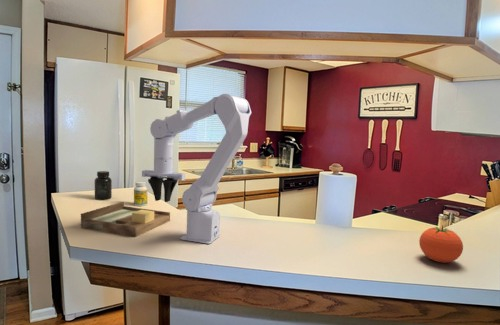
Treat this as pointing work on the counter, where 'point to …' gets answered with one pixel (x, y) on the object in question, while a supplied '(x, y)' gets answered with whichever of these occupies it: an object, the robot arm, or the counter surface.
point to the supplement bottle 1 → (103, 186)
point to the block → (142, 216)
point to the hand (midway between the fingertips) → (162, 200)
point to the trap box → (120, 220)
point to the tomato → (441, 244)
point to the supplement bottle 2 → (140, 194)
